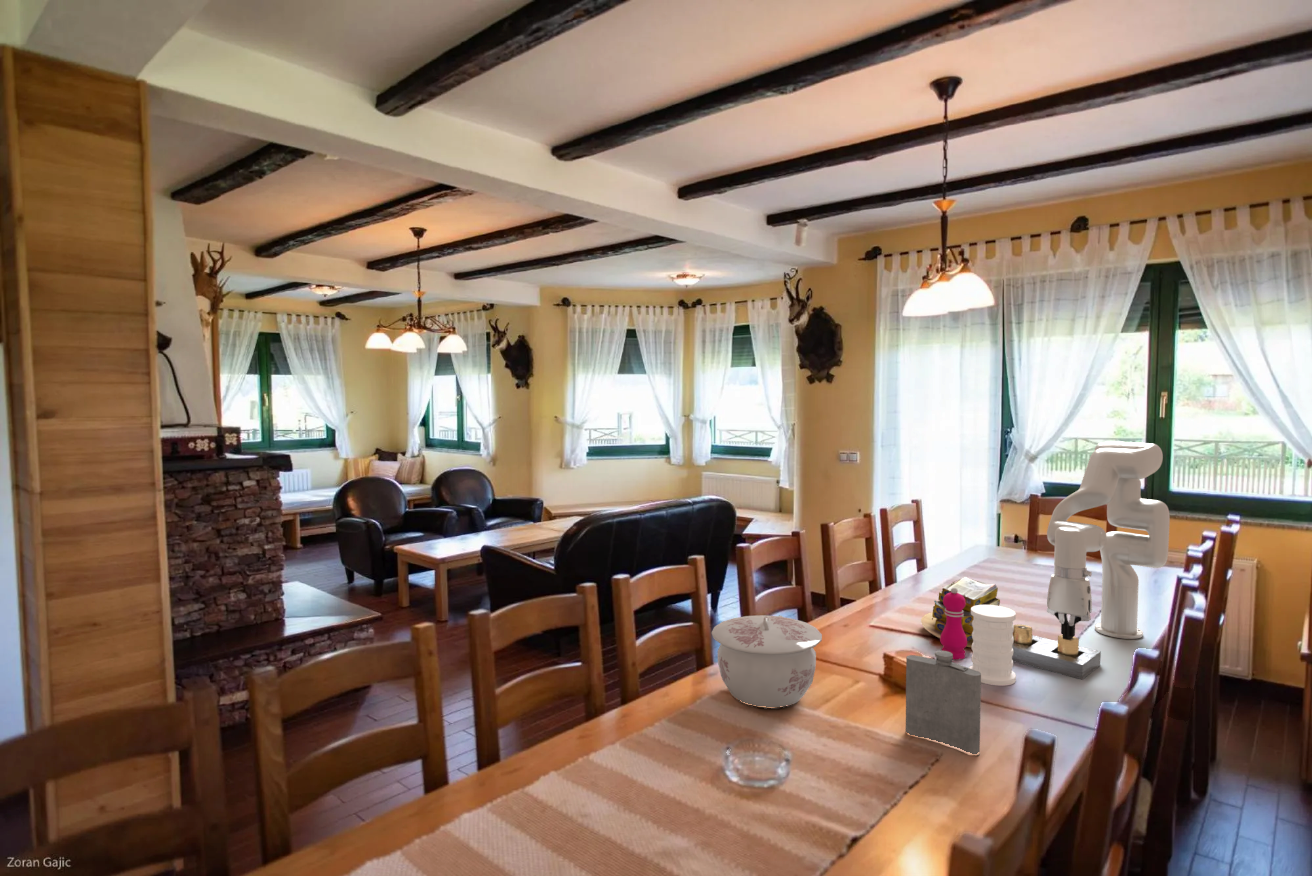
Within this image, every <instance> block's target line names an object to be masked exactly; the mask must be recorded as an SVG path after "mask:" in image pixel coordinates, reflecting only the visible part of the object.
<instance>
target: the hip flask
mask: <svg viewBox="0 0 1312 876" xmlns="http://www.w3.org/2000/svg"><path fill="white" fill-rule="evenodd" d="M934 657H935V658H931V657H930V658H929V657H925V656H920V655H912V654H910V655H907V656H906V662H905V663H906V670H905V672H906V673H905V675H906V676H905V733H906V732H907V733H909V734H910V735H915V736H918V737H924V738H929V739H931V740H936V741H938V742H943V743H945V744H949V745H950V746H954V747H957V748H960V749H962V750H964V751H966V752H970V753H972V754H977V753H978V752H980V753H981V748H980V747H981V743H980V742H981V704H982V703H981V700H982V699H981V697H982V696H981V695H982V694H981V693H982V683H981V673H980V672H979V671H976V670H973V669H970V668H969V667H967V666H964V665H961V664H958V663H956V662H953V660H954V659H953V654H952V653H951V652H948V651H942V650H937V651H935V653H934Z"/></svg>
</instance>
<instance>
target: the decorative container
mask: <svg viewBox="0 0 1312 876" xmlns="http://www.w3.org/2000/svg"><path fill="white" fill-rule="evenodd" d="M971 615H972V616H974V620H973V621H972V627H973V632H972V639H973V643H972V648H971V650H972V655H971V662H972V665H970V666H969V667H968V668H970V669H973V670H976V671H979V672H980V673H981V684H986V685H989V686H990V685H991V686H999V687H1002V686H1003V687H1004V686H1010V685H1014V684H1015V683H1016V682H1017V674H1016V673H1015V672H1014V671H1013V667H1014V661H1013V660H1012V656H1013V653H1014V652H1013V648H1012V644H1013V642H1014V638H1013V636H1012V635H1013V631H1014V625H1015V624H1014V623H1013V622H1014V621H1015V620H1016V618H1017V615H1016V611H1015V610H1013V609H1011V608H1009V607H1006V606H1001V605H999V606H996V605H976V606H973V607H971Z"/></svg>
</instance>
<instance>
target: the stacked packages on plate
mask: <svg viewBox="0 0 1312 876" xmlns="http://www.w3.org/2000/svg"><path fill="white" fill-rule="evenodd" d="M952 588H957V590H958V592H957V593H959V594H961V595H962V596H963V597H964V598H965V602H966V605H965V607H964V608H963V609H962V610H963V611H964V612H963V614H964V615H963V616H962V619H961V623H962V628H963V631H964V633H965V635H966V638H967V646H966V647H965V648H971V649H972V643H973V639H972V632H973V627H972V621H973V620H974V616H972V615H971V607H973V606H976V605H996V606H1001V605H1000V603H1001V599H1000V598H997V596H998V590H999V589H998V587H997V584H995V583H986V582H982V581H979V580H975V579H972V578H969V577H967V576H964V577H962V578H960V579H957V580H955V581H952V582H951V583H949V584H947V585H944V586H942V589H941V591H939V592H938V601H937V600H933V601H934V605H933V607H932V612H928V613H926V614H924V615H923V616H922V617H921V619H920V623H921V625H922V627H923V628H924V629H925V630H926V631H927V632H929V633H930V634H932V635H933V636H935V637H937V638H938V639H940V637H941V634H942V631H943V629H944V627H945V625H946V620H947V618H946V614H945V608H946V607H945V606H944V604H943V598H944V596H945V595H946V594H948V593H951V589H952Z"/></svg>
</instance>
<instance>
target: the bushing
mask: <svg viewBox="0 0 1312 876" xmlns="http://www.w3.org/2000/svg"><path fill="white" fill-rule="evenodd" d="M1079 639H1080V638H1078V637H1076V636H1074V637H1073V638H1071V639H1070V640H1067V639H1063V634H1059V635H1057V641H1058V654H1061V655H1065V656H1069V657H1073V658H1078V652H1079V644H1080V642H1079V641H1080V640H1079Z"/></svg>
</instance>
